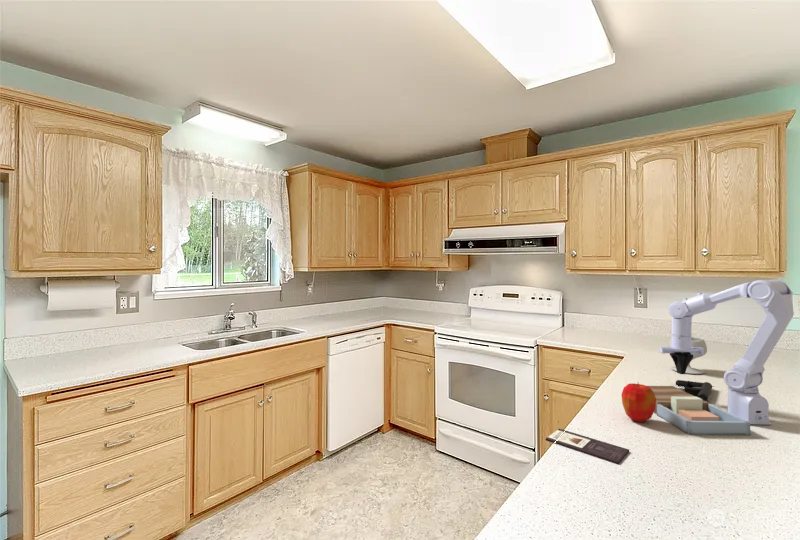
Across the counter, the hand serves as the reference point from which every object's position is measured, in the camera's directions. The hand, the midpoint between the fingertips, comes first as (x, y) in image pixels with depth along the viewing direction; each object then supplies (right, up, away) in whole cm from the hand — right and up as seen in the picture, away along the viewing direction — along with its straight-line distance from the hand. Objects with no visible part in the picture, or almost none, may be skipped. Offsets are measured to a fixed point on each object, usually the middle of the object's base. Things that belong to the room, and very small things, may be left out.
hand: (681, 373), depth 136 cm
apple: (-27, -10, -18) cm, 34 cm away
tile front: (-10, -7, -20) cm, 23 cm away
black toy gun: (+8, -10, +9) cm, 16 cm away
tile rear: (-10, -6, -14) cm, 18 cm away
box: (-10, -10, -21) cm, 25 cm away
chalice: (+30, -9, +37) cm, 49 cm away
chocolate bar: (-51, -11, -35) cm, 62 cm away
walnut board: (-9, -10, -5) cm, 14 cm away
